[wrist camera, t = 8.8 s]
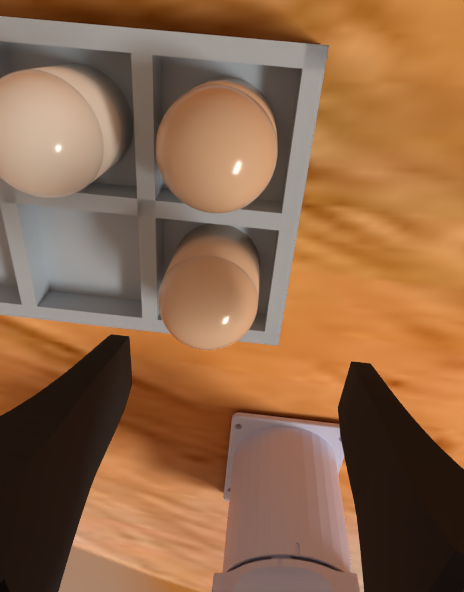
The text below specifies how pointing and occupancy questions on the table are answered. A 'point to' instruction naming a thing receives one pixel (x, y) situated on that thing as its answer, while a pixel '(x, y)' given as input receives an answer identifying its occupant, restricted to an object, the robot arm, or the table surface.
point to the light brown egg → (60, 128)
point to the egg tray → (151, 177)
